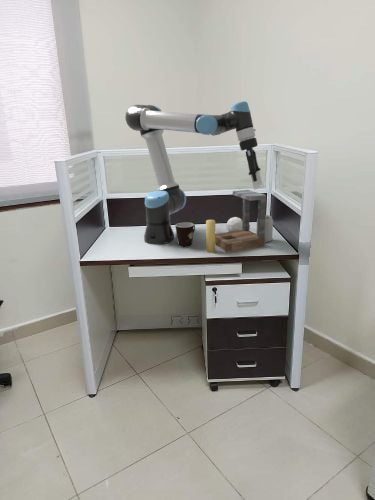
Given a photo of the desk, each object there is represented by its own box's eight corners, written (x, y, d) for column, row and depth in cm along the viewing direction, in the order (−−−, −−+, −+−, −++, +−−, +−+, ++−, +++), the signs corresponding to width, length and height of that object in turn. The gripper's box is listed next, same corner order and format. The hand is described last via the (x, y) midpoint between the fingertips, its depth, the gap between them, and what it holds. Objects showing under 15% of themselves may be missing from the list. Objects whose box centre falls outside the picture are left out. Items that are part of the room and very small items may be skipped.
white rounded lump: (226, 233, 173) (250, 235, 174) (228, 215, 173) (252, 217, 173) (224, 234, 182) (246, 236, 182) (225, 216, 182) (248, 218, 182)
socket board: (211, 242, 167) (211, 193, 159) (246, 236, 174) (247, 189, 166) (227, 252, 153) (227, 199, 145) (264, 246, 160) (266, 195, 152)
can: (272, 243, 163) (273, 218, 159) (256, 242, 165) (256, 218, 161) (271, 238, 170) (273, 214, 166) (256, 237, 171) (257, 214, 167)
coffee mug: (181, 249, 159) (180, 228, 156) (173, 244, 167) (172, 224, 163) (203, 244, 164) (202, 224, 161) (194, 240, 172) (193, 220, 168)
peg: (205, 250, 157) (204, 220, 152) (213, 249, 158) (212, 219, 154) (208, 253, 154) (208, 222, 149) (216, 251, 155) (216, 221, 150)
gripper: (253, 136, 139) (265, 187, 143) (257, 137, 162) (268, 182, 166) (235, 141, 141) (247, 192, 146) (242, 142, 164) (252, 186, 169)
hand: (258, 187), depth 156 cm, fingers open, 13 cm apart
